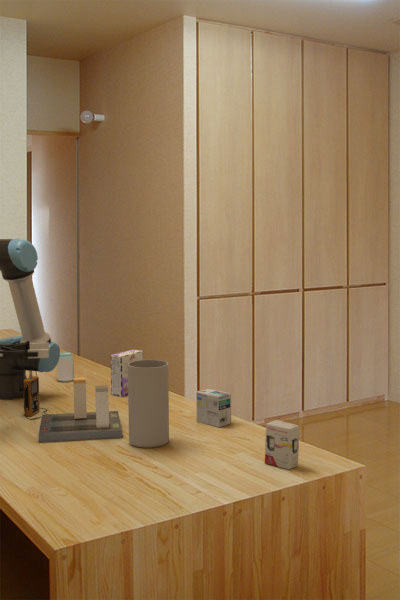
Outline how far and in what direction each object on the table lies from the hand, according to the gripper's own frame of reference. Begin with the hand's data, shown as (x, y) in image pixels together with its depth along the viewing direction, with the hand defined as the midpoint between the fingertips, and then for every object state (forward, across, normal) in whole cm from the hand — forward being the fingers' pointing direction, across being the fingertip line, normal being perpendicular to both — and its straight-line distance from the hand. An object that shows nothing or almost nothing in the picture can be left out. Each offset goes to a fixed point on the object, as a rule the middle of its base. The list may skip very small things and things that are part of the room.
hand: (49, 349), depth 233 cm
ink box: (+65, -52, +27) cm, 87 cm away
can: (+6, +68, +25) cm, 73 cm away
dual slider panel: (+10, -6, +26) cm, 29 cm away
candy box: (+30, +41, +26) cm, 57 cm away
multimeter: (-3, +16, +26) cm, 31 cm away
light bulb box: (+55, -7, +26) cm, 61 cm away
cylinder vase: (+30, -24, +26) cm, 47 cm away
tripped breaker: (+10, 0, +24) cm, 26 cm away
